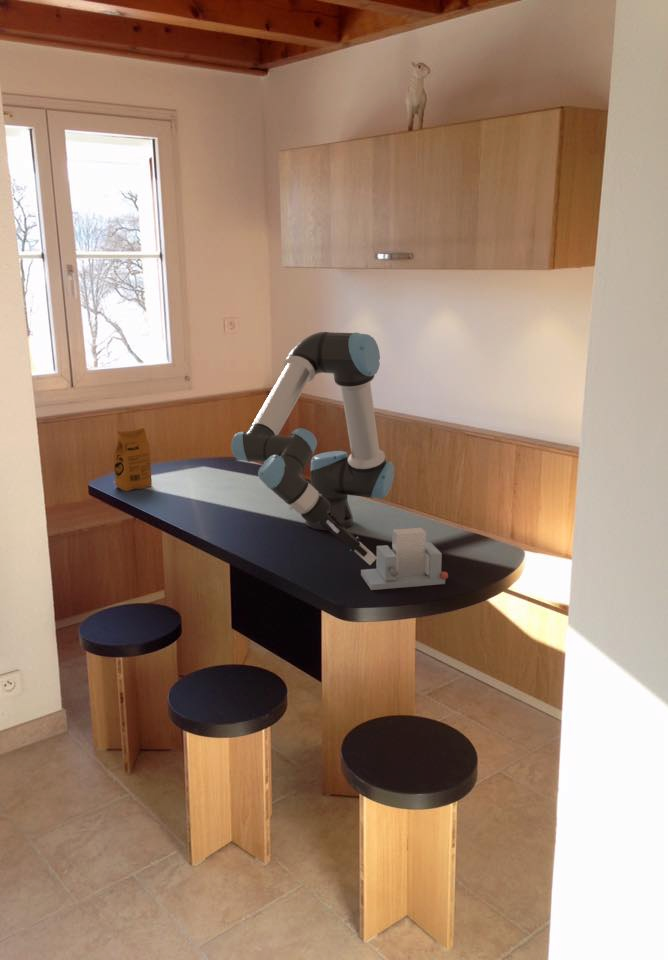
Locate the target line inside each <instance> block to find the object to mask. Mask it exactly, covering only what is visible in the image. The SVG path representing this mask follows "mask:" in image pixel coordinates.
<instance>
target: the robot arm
mask: <svg viewBox="0 0 668 960" xmlns="http://www.w3.org/2000/svg"><path fill="white" fill-rule="evenodd" d="M380 353H381V352H380V348H379V345H378V343H377V341H376V339H375V338H374V337H373V336H371V334H369V333H368V334H367V333H366V334H365V333H360V332H333V331H331V332H330V331H319V332H315V333H313V334H311V335H309V336H307V337H305V338H304V339H303V340H301V341H300V342H299V343H297V345H296V346H294V347H293V348H292V349H291V351H290V352H289V353H288V355H287V356H286V358H285V359H284V362H283V367H284V368H283V371H281V373H280V375H279V377H278V379H277V380H276V381H275V382H276V383H275V384H274V385H273V388H272V389H271V391H270V393H269V395H267V398H266V399H265V401H264V402H263V405H262V407H260V410H259V411H258V413H257V415H256V417H255V418H254V420H253V422H252V424H251V425H250V426H249V429H248V430H247V431H244V430H243V431H239V432H237V433H235V434H234V436H233V437H232V439H231V444H230V448H231V453H232V455H233V457H234V458H235V459H236V460H239V461H243V462H244V461H245V462H248V463H250V462H252V463H263V464H261V465H260V467H259V469H258V472H257V476H258V479H260V481H261V482H262V483H263V484H264V485H265V486H266V487H267V488H268V489H270V491H272V492H273V493H274V494H275V495H276V496H278V497H279V498H280V499H282V500H283V502H285V503H286V504H288V506H289V507H288V508H289V510H291V511H292V510H294V511H295V512H296V513H297V514H300V517H301V518H303V519H304V520H305V525H306V526H307V527H308V526H309V528H310V527H311V529H313V530H319V531H328V532H330V534H331V535H333V536H335V537H336V538H337V539H339V540H340V541H341V542H342V543H344V544H345V545H346V546H347V547H348V548H349V552H351V553H353V552H354V553H356V554H357V556H359V557H360V558H361V559H363V561H365V563H367V564H368V565H369V566H371V565H372V564H374V562H376V559H377V557H376V555H375V554H374V553H373V552H372V551H371V550H370V549H369V548H367V546H365V545H364V544H363V543H362V542H361V541H360V537H359V536H358V535H357V536H356V537H355V535H354V534H352V533H351V532H350V531H349V530H348V528H351V527H352V525H353V524H354V517H353V516H354V515H353V514H352V513H353V512H352V510H351V507H350V504H349V500H348V496H353V497H356V496H357V497H361V498H362V497H363V498H371V499H372V500H373V499H384V498H386V497H387V496H388V495H389V493H390V492H391V488H392V486H393V482H394V479H395V478H394V477H395V465H394V464H393V462H392V461H390V460H389V461H387V459H386V458H387V457H386V453H385V452H384V451H383V450H381V449H380V446H379V445H380V444H379V437H378V432H377V431H378V430H377V424H376V417H375V408H374V407H375V406H374V400H373V392H372V385H371V382H372V381H373V380H374V378H375V375H377V374H378V371H379V368H380V364H381V363H380V359H381V355H380ZM322 373H325V374H332V375H333V378H334V379H333V380H334V384H336V385H337V386H338V387H340V390H341V396H342V401H343V409H344V414H345V416H344V417H345V420H346V429H347V434H348V440H349V441H348V442H349V447H350V452H351V453H350V454H348V452H347V451H344V450H333V451H326V452H321V453H318V454H316V455H314V453H315V451H316V448H317V446H318V441H317V438H316V436H315V435H314V434H313V432H311V431H310V430H308V429H305V428H301V427H299V428H297V429H294V430H293V431H292V432H291V433H289V435H288V436H287V435H279V434H280V432H281V431H282V429H283V428H284V426H285V423H286V422H287V420H288V418H289V416H290V414H291V412H292V411H293V409H294V407H295V405H296V403H297V402H298V400H299V398H300V396H302V395H301V394H302V393H303V391H304V389H305V387H306V386H307V384H308V383H310V382H311V381H313V380H314V379H315V377H316V375H317V374H322ZM309 463H310V469H309V470H310V482H309V481H308V480H306V479H305V478H304V476H302V475H303V473H304V471H305V469H306V467H307V466H308V464H309Z"/></svg>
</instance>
